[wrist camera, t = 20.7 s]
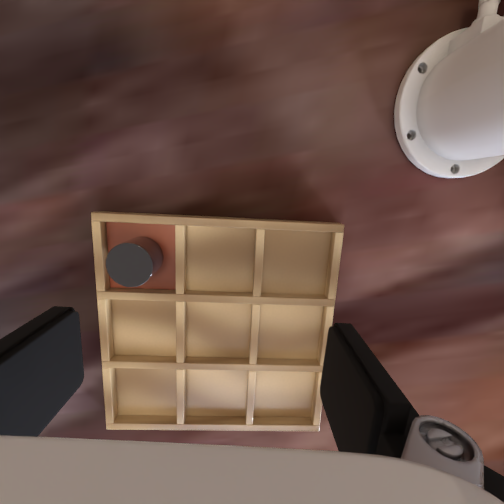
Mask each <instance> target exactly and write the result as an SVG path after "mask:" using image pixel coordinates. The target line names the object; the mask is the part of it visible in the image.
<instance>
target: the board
mask: <svg viewBox="0 0 504 504" xmlns="http://www.w3.org/2000/svg"><path fill="white" fill-rule="evenodd" d="M91 220H92V236H93V249H94V263H95V277H96V291H97V303H98V317H99V330H100V344H101V358H102V373H103V387H104V400H105V414H106V428H107V429H113V430H228V431H319V427H320V418H321V410H322V400H321V397H320V383H321V377H322V370H323V363H324V356H325V350H326V343H327V336H328V330H329V327H330V326H332V321H333V313H334V305H335V298H336V290H337V282H338V273H339V265H340V257H341V249H342V241H343V232H344V224H341V223H336V222H316V221H295V220H274V219H253V218H232V217H212V216H191V215H170V214H149V213H129V212H108V211H98V212H92V213H91ZM139 236H143V237H148V238H151V239H153V240H154V241H155V242H157V243H158V244H159V246H160V247H161V249H162V252H163V257H164V258H163V264H162V266H161V268H160V269H159V270H158V271H157V272H156V273H155V274H154V275H153V276H152V277H151V278H150V279H149V280H148V281H147V282H145V283H144V284H143V285H140V286H138V287H125V286H122V285H119V284H118V283H116V282H115V281H114V280H113V279H112V278H111V277H110V276H109V274H108V272H107V269H106V258H107V255H108V253H109V251H110V250H111V249H112V248H113V247H115V246H116V245H118V244H121V243H123V242H125V241H127V240H130V239H132V238H135V237H139Z"/></svg>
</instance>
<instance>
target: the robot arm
mask: <svg viewBox="0 0 504 504" xmlns="http://www.w3.org/2000/svg"><path fill="white" fill-rule="evenodd" d="M499 3H500V0H479V5H478V9H479V10H478V15H477V19H476V20H474V21H473V23H472V25H471V26H470V27H469V28H463V29H460V30H457V31H454V32H451V33H449V34H447V35H446V36H444V37H442V38H440V39H438V40H437V41H436V42H434V43H433V44H432V45H430V46H429V47H428V48H427V49H426V50H425V51H423V52H422V53H421V54H420V55H419V56H418V57H417V58H416V59H415V61H414V62H413V64H412V65H411V66H410V68H409V69H408V70H407V72H406V74H405V76H404V78H403V80H402V82H401V84H400V87H399V90H398V93H397V96H396V102H395V109H394V125H395V130H396V135H397V139H398V141H399V144H400V146H401V148H402V150H403V152H404V153H405V155H406V156H407V158H408V159H409V160H410V161H411V162H412V163H413V164H414V165H415V166H416V167H417V168H419V169H420V170H422V171H424V172H425V173H427V174H430V175H433V176H436V177H442V178H462V177H468V176H473V175H476V174H478V173H481V172H484V171H486V170H488V169H489V168H491V167H493V166H494V165H496V164H497V163H499V162H500V161H501V160H502V159H503V158H504V16H503V17H501V16H500V15H498V14H497V10H498V5H499ZM407 135H408V138H407ZM83 378H84V369H83V357H82V345H81V333H80V321H79V314H78V312H75V310H74V309H73V308H72V307H57V306H54V307H52V308H50V309H49V310H47V311H46V312H44V313H42V314H41V315H39V316H37V317H36V318H34V319H33V320H31V321H29V322H28V323H26V324H24V325H23V326H21V327H20V328H18V329H16V330H15V331H13V332H11V333H10V334H8V335H6V336H5V337H3V338H2V339H0V504H504V476H502V475H500V474H498V473H497V472H495V471H493V470H491V469H490V468H488V467H486V466H484V462H483V455H482V451H481V449H480V448H479V446H478V445H477V443H476V442H475V441H474V440H473V439H472V438H471V437H470V436H469V435H468V434H467V433H466V432H464V431H463V430H462V429H460V428H459V427H457V426H456V425H454V424H452V423H450V422H449V421H446V420H444V419H441V418H439V417H434V416H430V415H421V416H419V414H418V413H417V412H416V410H415V409H414V408H413V406H412V405H411V403H410V402H409V401H408V399H407V398H406V397H405V395H404V394H403V393H402V391H401V390H400V389H399V387H398V386H397V385H396V383H395V382H394V381H393V379H392V378H391V377H390V375H389V374H388V373H387V371H386V370H385V369H384V367H383V366H382V365H381V363H380V362H379V361H378V359H377V358H376V357H375V355H374V354H373V352H372V351H371V350H370V348H369V347H368V346H367V344H366V343H365V342H364V340H363V339H362V338H361V336H360V335H359V334H358V332H357V331H356V330H355V328H354V327H353V326H352V325H351V324H346V323H335V324H334V326H333V327H332V326H330V327H329V330H328V336H327V343H326V350H325V356H324V363H323V370H322V377H321V383H320V397H321V400H322V403H323V406H324V409H325V412H326V415H327V418H328V421H329V424H330V427H331V430H332V433H333V436H334V439H335V441H336V444H337V447H338V450H339V451H326V450H307V449H288V448H268V447H249V446H230V445H208V444H186V443H165V442H144V441H122V440H99V439H78V438H56V437H37V436H38V435H39V434H40V433H41V432H42V431H43V429H44V428H45V427H46V426H47V425H48V423H49V422H50V421H51V420H52V419H53V418H54V416H55V415H56V414H57V413H58V412H59V410H60V409H61V408H62V407H63V406H64V405H65V403H66V402H67V401H68V400H69V399H70V397H71V396H72V395H73V394H74V393H75V392H76V390H77V389H78V388H79V387H80V385H81V384H82V382H83Z"/></svg>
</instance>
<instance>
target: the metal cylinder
mask: <svg viewBox="0 0 504 504" xmlns="http://www.w3.org/2000/svg"><path fill="white" fill-rule="evenodd" d="M163 258H164V257H163V252H162V249H161V247H160V246H159V244H158V243H157V242H155V241H154V240H153V239H151V238H148V237H143V236H139V237H135V238H132V239H130V240H127V241H125V242H123V243H121V244H118V245H116V246H115V247H113V248H112V249H111V250H110V251H109V253H108V255H107V258H106V269H107V272H108V274H109V276H110V277H111V278H112V279H113V280H114V281H115V282H116V283H118V284H119V285H122V286H125V287H138V286H140V285H143V284H144V283H145V282H147V281H148V280H149V279H150V278H151V277H152V276H153V275H154V274H155V273H156V272H157V271H158V270H159V269H160V268H161V266H162V264H163Z"/></svg>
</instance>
